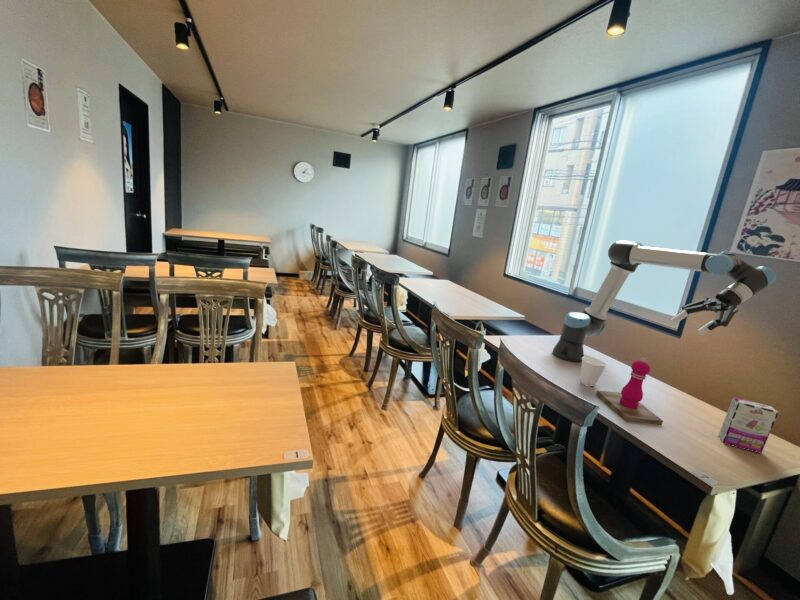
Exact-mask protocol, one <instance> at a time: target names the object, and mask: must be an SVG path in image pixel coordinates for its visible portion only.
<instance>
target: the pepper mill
mask: <svg viewBox="0 0 800 600" xmlns="http://www.w3.org/2000/svg"><path fill="white" fill-rule="evenodd" d="M630 367H631V371H630V379H629V381H628V382H627V383H626V384H625V385H624V386H623V388H622V389H621V392H620V393H621V395H622V396H623V397H621V398H620V403H621V404H622V405H624V406H626V407H628V408H632V409H637V408H638V405H639V403H638V402H641V401H642V400H643V396H644V393H643V382H644V381H645V380H646V378H647V375H648V374H649V373H650V372H651V367H650V364H649V363H648V362H647V360H646V358H644V357H641V358H640V360H635V361H634V362H632V364H631V366H630Z"/></svg>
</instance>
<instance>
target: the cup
mask: <svg viewBox="0 0 800 600" xmlns="http://www.w3.org/2000/svg"><path fill="white" fill-rule="evenodd" d="M606 366H607V363H606V362H604V361H603V360H601V359H599V358H595V357H592V356H584V357H582V362H581V366H580V367H581V369H580V377H579V380H580V381H579V382H580V383H581V384H582V385H585V386H586V385H587V386H586V387H590V386H593V387H595V386H596V385H597V383H598V380H599V379H600V377H601V375H602V373H603V372H604V369H605V367H606Z"/></svg>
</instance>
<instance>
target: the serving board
mask: <svg viewBox="0 0 800 600" xmlns="http://www.w3.org/2000/svg"><path fill="white" fill-rule="evenodd" d="M595 395H596V396H597V397H598V398H599V399H600V400H601V401H603V403H604V404H606V405H607V407H609V408H610V409H611V410H613V412H615V414H617V416H619V417H620V418H621V419H622V420H623V421H624V422H626V423H633V424H642V425H643V424H644V425H653V426H662V425H663V423H664V420H663V419H662V418H660V417H659V416H658V415H656V413H654V412H653V411H651V410H650V409H649V408H648V407H646V406H645V405H644V404H642V403H641V401H639V402H638V403H639V405H638V408H637V409H632V408H628V407H626V406H624V405H622V404H621V403H620V398H621V397H623V396H622V395H621V392H616V391H606V390H599V389H597V390H596V392H595Z"/></svg>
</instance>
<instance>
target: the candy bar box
mask: <svg viewBox="0 0 800 600" xmlns="http://www.w3.org/2000/svg"><path fill="white" fill-rule="evenodd" d="M779 413H780V412H779V411H778V410H777V409H776V408H774V407H773V406H771V405H767V404H764V403H759V402H755V401H750V400H747V399H744V398H739V397H735V396H733V397H732V399H731V401H730V404H729V406H728V410H727V412H726V415H725V418H724V420H723V423H722V425H721V428H720V430H719V432H718V435H717V437H718V439H719V438H720V439H721V440H720V439H719V440H720V441H721V443H722V444H724V443H726V444H725V445H728V444H730V445H729V446H731V445H734V446H733V447H735V446H737V447H736V448H738V447H741V448H740V449H742V448H745V449H744V450H746V449H749V450H753V451H757V452H760V453H761V454H762V452H763V450H764V448H765V446H766V444H767V442H768V439H769V436H770V433H771V431H772V430H773V427H774V424H775V422H776V419H777V417H778V416H779ZM749 450H748V451H749ZM753 451H752V452H753ZM760 453H759V454H760Z"/></svg>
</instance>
